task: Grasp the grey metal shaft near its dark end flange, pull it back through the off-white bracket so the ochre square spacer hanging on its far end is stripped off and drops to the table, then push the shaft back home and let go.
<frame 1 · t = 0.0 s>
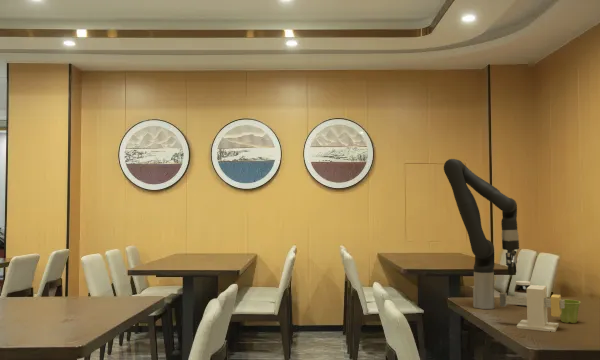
hand: (512, 273, 252), 17 cm above the table, tool pointing down, fingers open, 8 cm apart
shaft: (531, 301, 217), point 10 cm above the table, slide at 0.0 cm, touching spacer
spacer: (556, 305, 212), point 9 cm above the table, touching shaft
plant pot: (568, 322, 225), on the table
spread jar: (527, 306, 263), on the table
bracket: (537, 326, 215), on the table
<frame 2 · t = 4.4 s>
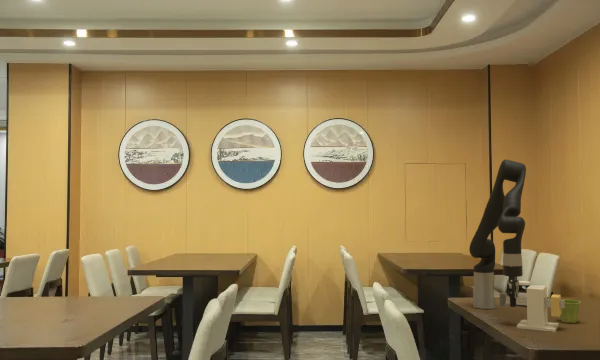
hand: (513, 305, 220), 8 cm above the table, tool pointing down, fingers closed on shaft, 3 cm apart
shaft: (531, 301, 217), point 10 cm above the table, slide at 0.0 cm, touching gripper, spacer
everything else where it was.
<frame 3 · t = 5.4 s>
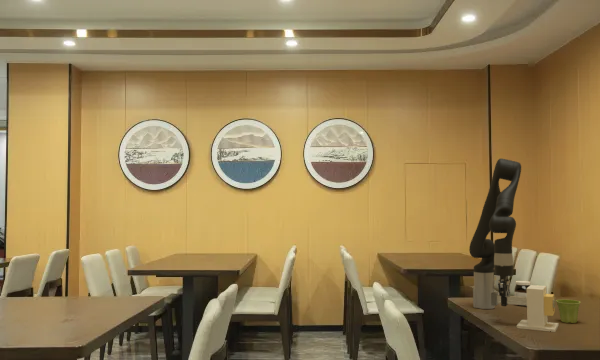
hand: (504, 305, 222), 8 cm above the table, tool pointing down, fingers closed on shaft, 3 cm apart
shaft: (522, 300, 219), point 10 cm above the table, slide at 3.5 cm, touching gripper
spacer: (549, 304, 214), point 9 cm above the table
everything else where it was.
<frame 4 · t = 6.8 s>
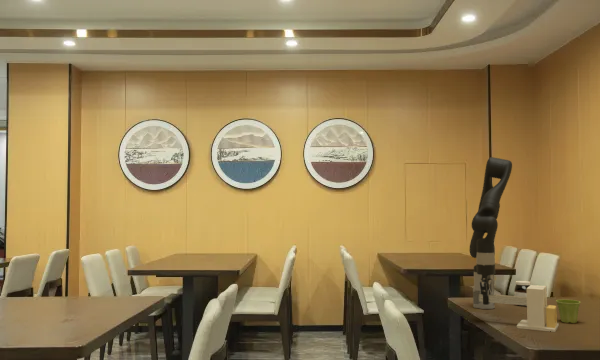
hand: (486, 303, 226), 8 cm above the table, tool pointing down, fingers closed on shaft, 3 cm apart
shaft: (503, 299, 223), point 10 cm above the table, slide at 10.8 cm, touching gripper
spacer: (551, 316, 213), point 5 cm above the table, touching bracket
everything else where it was.
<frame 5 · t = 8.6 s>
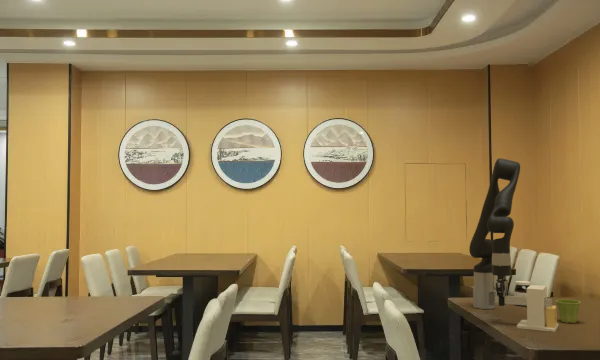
hand: (502, 304, 223), 8 cm above the table, tool pointing down, fingers closed on shaft, 3 cm apart
shaft: (520, 300, 219), point 10 cm above the table, slide at 4.5 cm, touching gripper
everything else where it was.
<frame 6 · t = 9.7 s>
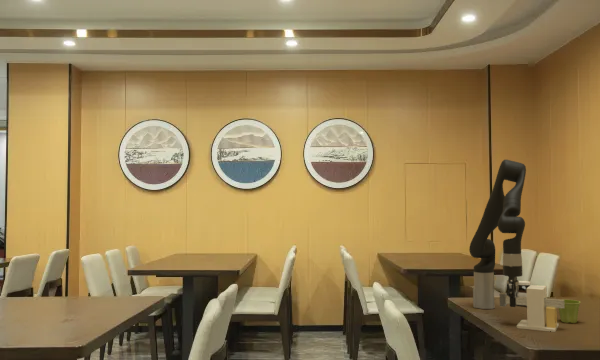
hand: (513, 305, 220), 8 cm above the table, tool pointing down, fingers closed on shaft, 3 cm apart
shaft: (531, 301, 217), point 10 cm above the table, slide at 0.1 cm, touching gripper
everything else where it was.
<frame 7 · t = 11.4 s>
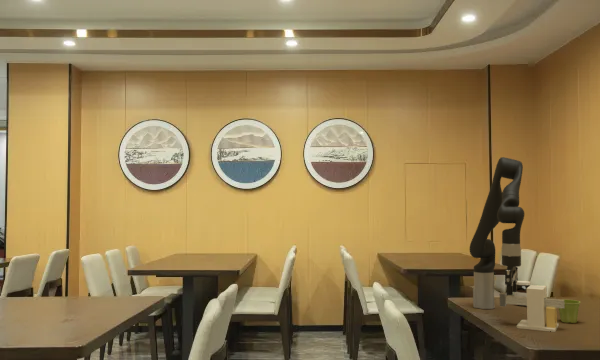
hand: (511, 293, 221), 13 cm above the table, tool pointing down, fingers open, 8 cm apart
shaft: (531, 301, 217), point 10 cm above the table, slide at 0.0 cm
everything else where it was.
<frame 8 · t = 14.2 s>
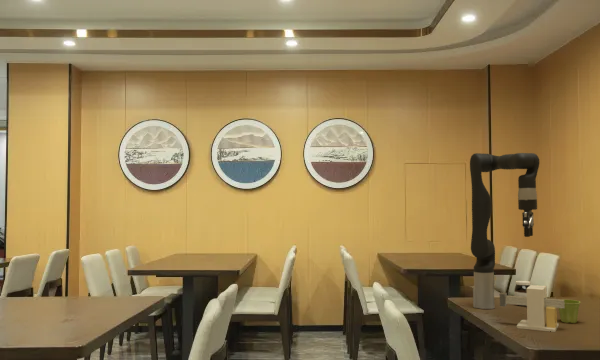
hand: (528, 236, 229), 36 cm above the table, tool pointing down, fingers open, 8 cm apart
nothing on the table moved.
at the end: spacer point 4.7 cm above the table; spacer touching bracket; shaft slide at 0.0 cm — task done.
